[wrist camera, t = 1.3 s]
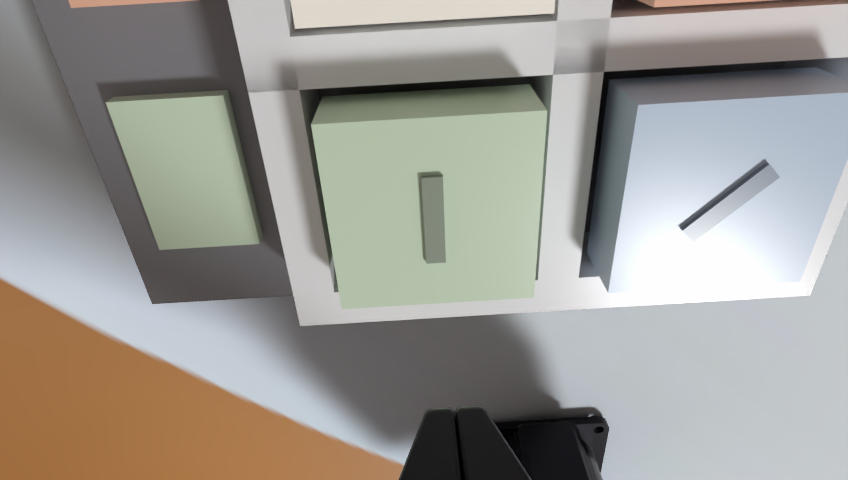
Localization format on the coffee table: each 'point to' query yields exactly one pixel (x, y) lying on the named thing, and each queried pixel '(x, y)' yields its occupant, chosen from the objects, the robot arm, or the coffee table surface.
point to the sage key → (432, 193)
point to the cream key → (407, 10)
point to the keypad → (366, 74)
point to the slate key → (716, 177)
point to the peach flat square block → (690, 2)
